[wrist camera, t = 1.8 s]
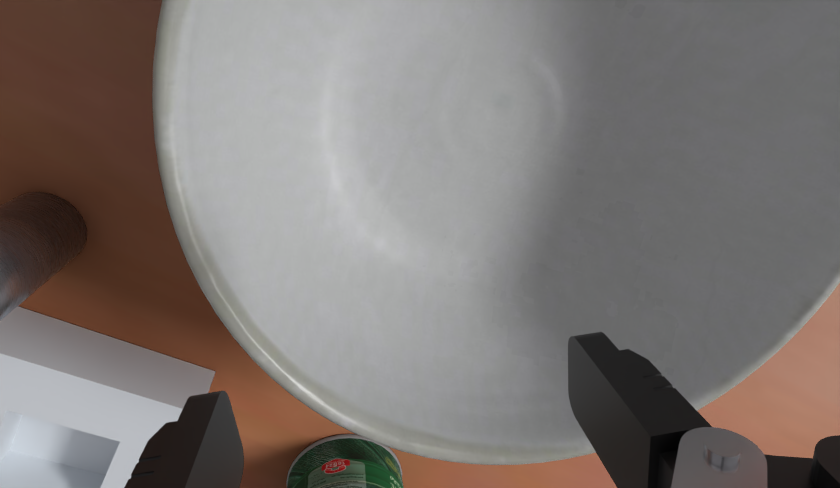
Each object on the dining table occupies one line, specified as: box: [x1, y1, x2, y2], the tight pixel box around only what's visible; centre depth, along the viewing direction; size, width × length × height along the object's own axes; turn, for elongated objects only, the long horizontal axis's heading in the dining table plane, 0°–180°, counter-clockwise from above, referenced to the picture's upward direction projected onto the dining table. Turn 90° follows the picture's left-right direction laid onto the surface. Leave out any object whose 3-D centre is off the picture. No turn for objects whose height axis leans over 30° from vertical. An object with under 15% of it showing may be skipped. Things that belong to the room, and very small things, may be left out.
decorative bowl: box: [152, 0, 840, 465], centre depth 24 cm, size 27×27×12 cm
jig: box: [0, 306, 216, 488], centre depth 31 cm, size 12×13×4 cm
